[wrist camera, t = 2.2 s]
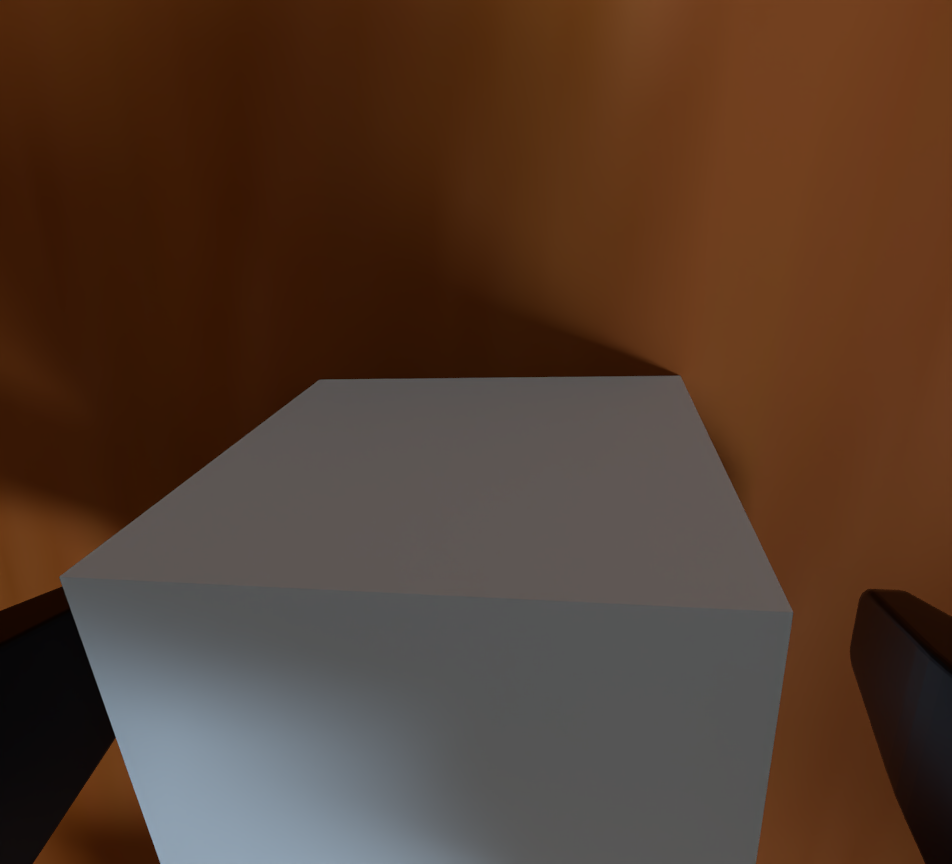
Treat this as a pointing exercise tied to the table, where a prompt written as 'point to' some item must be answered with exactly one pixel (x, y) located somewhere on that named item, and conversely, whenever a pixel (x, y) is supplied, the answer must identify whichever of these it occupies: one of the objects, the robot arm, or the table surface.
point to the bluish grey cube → (446, 633)
